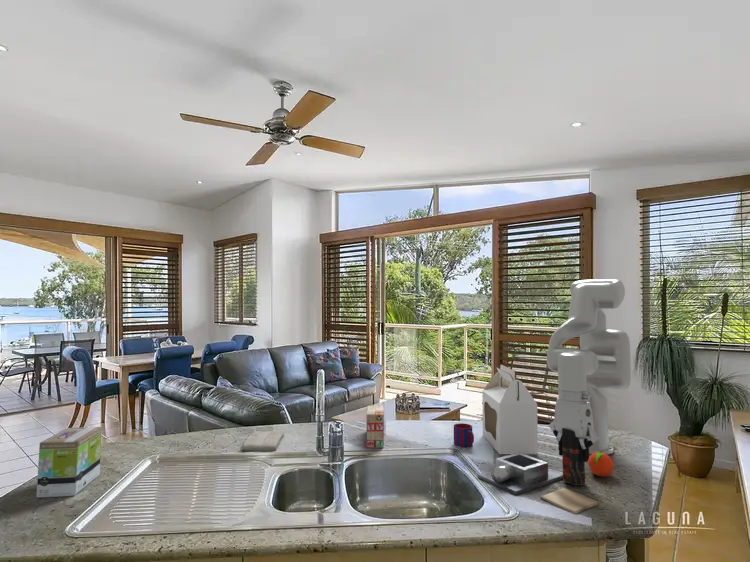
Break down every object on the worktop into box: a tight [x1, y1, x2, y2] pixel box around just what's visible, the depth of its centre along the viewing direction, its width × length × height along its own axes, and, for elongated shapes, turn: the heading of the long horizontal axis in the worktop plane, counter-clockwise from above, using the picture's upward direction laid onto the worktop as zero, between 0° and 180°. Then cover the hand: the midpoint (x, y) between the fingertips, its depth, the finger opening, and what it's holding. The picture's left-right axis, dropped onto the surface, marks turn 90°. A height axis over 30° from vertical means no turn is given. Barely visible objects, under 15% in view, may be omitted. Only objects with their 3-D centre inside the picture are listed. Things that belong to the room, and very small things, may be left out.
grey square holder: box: [477, 452, 563, 496], centre depth 133 cm, size 22×14×5 cm, turn 123°
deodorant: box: [561, 428, 586, 486], centre depth 130 cm, size 6×6×15 cm
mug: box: [453, 422, 475, 449], centre depth 162 cm, size 7×10×7 cm
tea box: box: [36, 426, 103, 498], centre depth 127 cm, size 15×10×15 cm, turn 9°
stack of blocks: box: [365, 405, 385, 449], centre depth 170 cm, size 21×6×12 cm, turn 0°
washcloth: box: [242, 430, 285, 452], centre depth 165 cm, size 12×18×3 cm, turn 3°
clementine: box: [587, 452, 615, 478], centre depth 135 cm, size 8×7×7 cm
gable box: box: [481, 364, 539, 455], centre depth 165 cm, size 22×13×28 cm, turn 2°
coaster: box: [540, 487, 599, 515], centre depth 118 cm, size 10×10×1 cm
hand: (573, 457), depth 130 cm, fingers closed on deodorant, 6 cm apart
